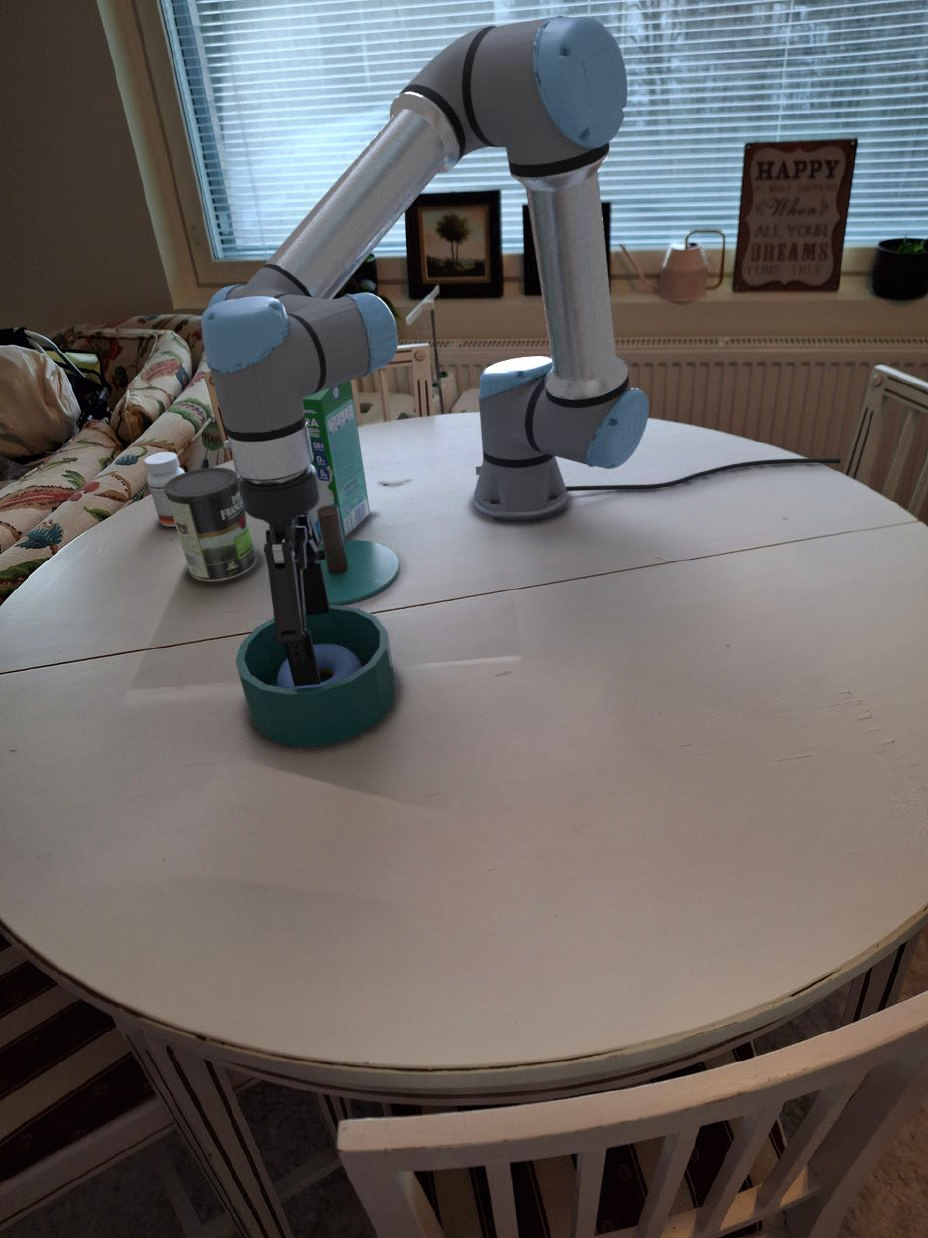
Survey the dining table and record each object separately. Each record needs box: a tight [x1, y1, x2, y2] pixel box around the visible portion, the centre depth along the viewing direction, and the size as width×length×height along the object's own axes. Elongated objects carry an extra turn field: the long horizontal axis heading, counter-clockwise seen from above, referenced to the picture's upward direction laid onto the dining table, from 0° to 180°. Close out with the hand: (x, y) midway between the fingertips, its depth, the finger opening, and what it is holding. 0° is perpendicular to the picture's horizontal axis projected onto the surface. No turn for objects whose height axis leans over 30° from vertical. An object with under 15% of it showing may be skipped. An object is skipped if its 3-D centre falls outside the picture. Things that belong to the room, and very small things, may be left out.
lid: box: [295, 506, 400, 606], centre depth 114 cm, size 18×18×11 cm
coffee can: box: [164, 467, 257, 582], centre depth 118 cm, size 10×10×14 cm
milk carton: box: [303, 380, 371, 539], centre depth 124 cm, size 9×9×25 cm
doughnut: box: [276, 644, 363, 689], centre depth 92 cm, size 10×10×5 cm
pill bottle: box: [144, 451, 186, 528], centre depth 134 cm, size 6×6×11 cm
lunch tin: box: [235, 604, 396, 748], centre depth 92 cm, size 17×17×8 cm
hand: (313, 646), depth 90 cm, fingers open, 13 cm apart
